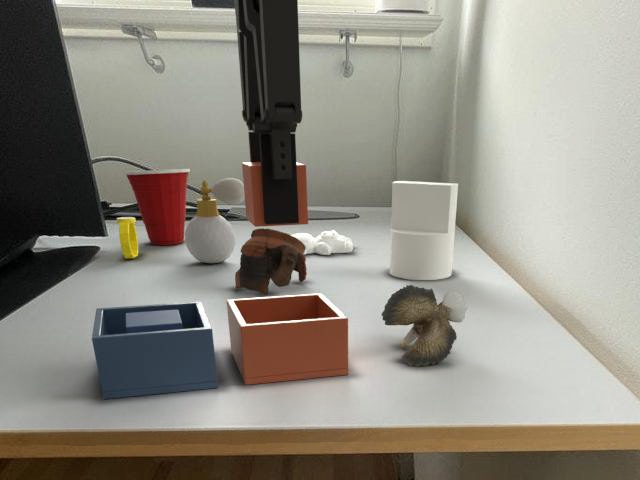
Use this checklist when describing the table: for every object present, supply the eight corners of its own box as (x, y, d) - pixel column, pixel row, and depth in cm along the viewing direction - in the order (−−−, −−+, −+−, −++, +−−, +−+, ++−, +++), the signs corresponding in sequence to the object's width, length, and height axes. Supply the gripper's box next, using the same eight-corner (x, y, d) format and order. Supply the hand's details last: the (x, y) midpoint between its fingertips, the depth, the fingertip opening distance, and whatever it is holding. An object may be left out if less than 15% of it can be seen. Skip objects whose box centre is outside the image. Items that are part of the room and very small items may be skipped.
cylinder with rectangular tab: (459, 270, 98) (466, 181, 92) (439, 282, 91) (446, 187, 85) (403, 264, 101) (406, 179, 95) (379, 276, 94) (381, 184, 88)
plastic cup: (180, 235, 124) (172, 164, 118) (209, 243, 117) (201, 168, 111) (124, 241, 118) (112, 167, 112) (151, 250, 110) (139, 171, 105)
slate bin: (106, 363, 61) (96, 308, 59) (207, 354, 64) (201, 301, 61) (103, 399, 54) (91, 338, 51) (218, 387, 56) (212, 328, 53)
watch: (137, 261, 102) (130, 220, 99) (118, 261, 102) (111, 220, 99) (144, 254, 107) (138, 215, 104) (126, 254, 107) (120, 215, 104)
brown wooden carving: (219, 288, 89) (234, 228, 89) (279, 312, 94) (294, 255, 94) (257, 281, 79) (274, 214, 79) (322, 308, 84) (338, 245, 84)
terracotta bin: (231, 352, 64) (226, 299, 62) (322, 344, 67) (321, 293, 64) (245, 385, 57) (240, 326, 54) (348, 374, 59) (348, 318, 56)
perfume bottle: (190, 257, 105) (181, 174, 99) (252, 256, 106) (246, 174, 100) (185, 267, 98) (174, 179, 93) (250, 266, 99) (244, 179, 94)
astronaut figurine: (352, 255, 107) (352, 236, 106) (278, 255, 107) (277, 235, 106) (353, 246, 115) (353, 227, 113) (285, 245, 115) (284, 227, 113)
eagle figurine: (382, 322, 69) (361, 330, 61) (424, 265, 66) (408, 265, 58) (439, 368, 69) (426, 382, 61) (483, 312, 66) (476, 319, 58)
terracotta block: (246, 219, 58) (241, 162, 56) (296, 217, 59) (294, 161, 57) (254, 226, 54) (250, 166, 52) (308, 224, 55) (306, 164, 53)
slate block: (133, 362, 60) (125, 312, 57) (184, 357, 61) (178, 309, 59) (134, 379, 56) (125, 327, 54) (188, 374, 57) (182, 322, 55)
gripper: (343, -189, 39) (346, 232, 50) (283, -106, 53) (296, 205, 65) (213, -206, 37) (247, 236, 48) (188, -115, 51) (218, 207, 63)
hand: (275, 218), depth 56 cm, fingers closed on terracotta block, 4 cm apart
